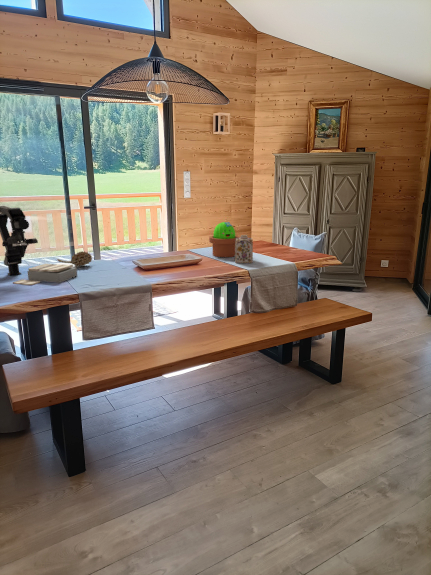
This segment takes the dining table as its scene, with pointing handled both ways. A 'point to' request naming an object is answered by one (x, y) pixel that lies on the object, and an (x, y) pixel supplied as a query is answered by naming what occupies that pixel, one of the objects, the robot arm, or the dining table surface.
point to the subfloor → (51, 274)
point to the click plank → (55, 268)
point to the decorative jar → (243, 249)
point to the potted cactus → (223, 240)
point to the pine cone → (79, 259)
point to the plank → (26, 282)
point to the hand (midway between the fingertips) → (22, 257)
